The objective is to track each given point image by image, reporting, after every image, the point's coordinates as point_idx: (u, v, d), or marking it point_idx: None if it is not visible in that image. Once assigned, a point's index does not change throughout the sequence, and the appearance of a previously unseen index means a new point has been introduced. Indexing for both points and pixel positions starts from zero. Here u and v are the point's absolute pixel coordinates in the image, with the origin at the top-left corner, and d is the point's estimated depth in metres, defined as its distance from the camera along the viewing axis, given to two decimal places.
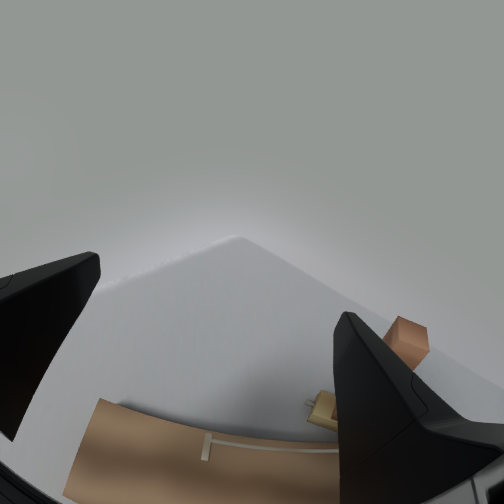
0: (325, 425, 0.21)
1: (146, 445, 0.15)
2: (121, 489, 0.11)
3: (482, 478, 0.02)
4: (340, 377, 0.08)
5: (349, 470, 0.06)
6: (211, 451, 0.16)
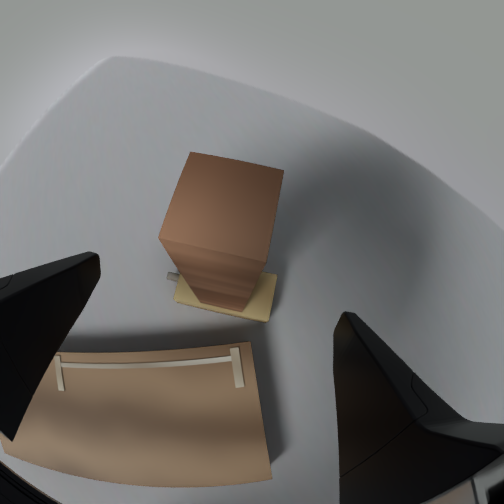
0: (201, 308, 0.18)
1: None
2: (24, 434, 0.11)
3: (482, 478, 0.02)
4: (340, 377, 0.08)
5: (349, 471, 0.06)
6: (65, 378, 0.14)
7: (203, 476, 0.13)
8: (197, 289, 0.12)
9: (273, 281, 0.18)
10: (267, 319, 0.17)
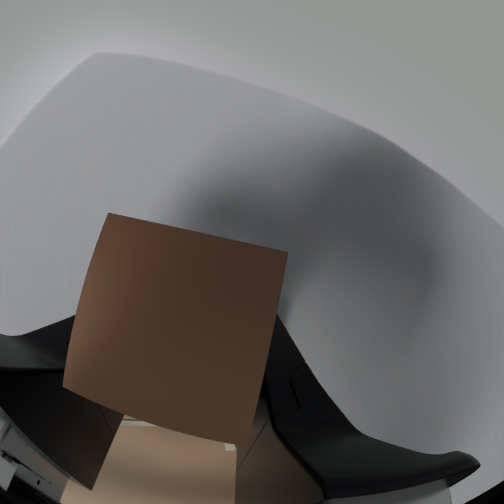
0: None
1: None
2: None
3: None
4: None
5: (239, 465, 0.06)
6: None
7: None
8: None
9: None
10: None
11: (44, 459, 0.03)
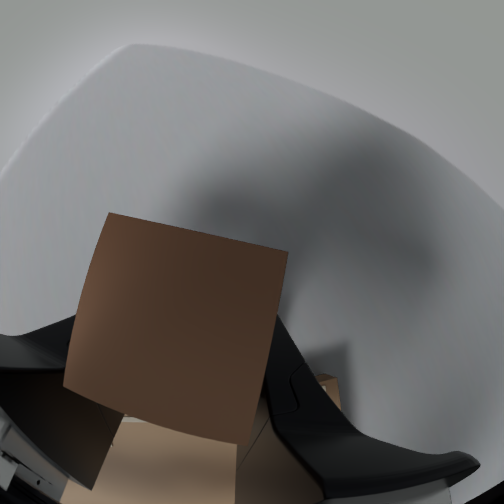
0: None
1: None
2: None
3: None
4: None
5: (239, 466, 0.06)
6: None
7: None
8: None
9: None
10: None
11: (44, 459, 0.03)
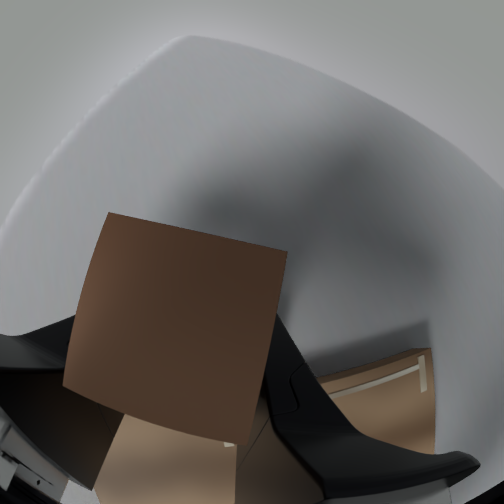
0: None
1: (151, 448, 0.11)
2: None
3: None
4: None
5: (239, 465, 0.06)
6: None
7: None
8: None
9: None
10: None
11: (44, 459, 0.03)
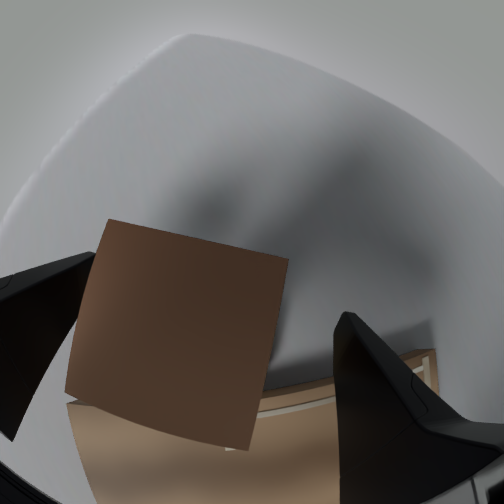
0: None
1: (150, 451, 0.11)
2: None
3: (482, 478, 0.02)
4: (340, 377, 0.08)
5: (348, 471, 0.06)
6: None
7: None
8: None
9: None
10: None
11: None
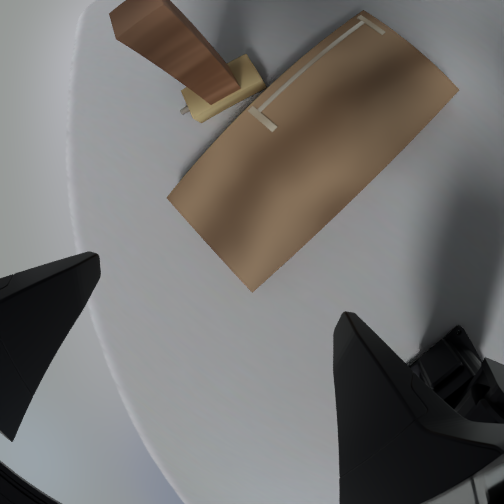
0: (217, 111, 0.20)
1: (231, 173, 0.19)
2: (265, 227, 0.19)
3: (482, 478, 0.02)
4: (340, 377, 0.08)
5: (348, 471, 0.06)
6: (270, 117, 0.17)
7: (422, 109, 0.14)
8: (184, 79, 0.14)
9: (246, 58, 0.17)
10: (261, 79, 0.17)
11: None
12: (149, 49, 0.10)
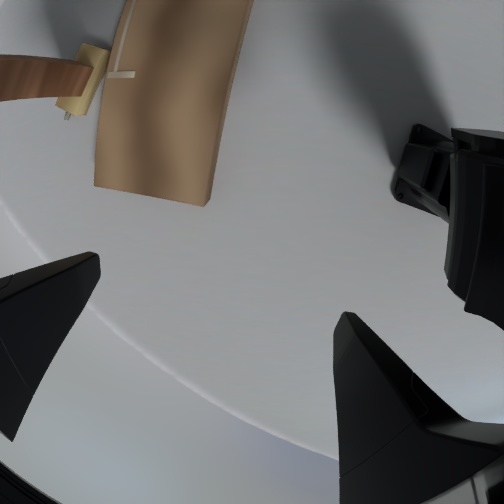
0: (90, 96, 0.18)
1: (125, 129, 0.17)
2: (175, 147, 0.18)
3: (482, 478, 0.02)
4: (340, 377, 0.08)
5: (349, 471, 0.06)
6: (126, 69, 0.15)
7: None
8: (43, 93, 0.12)
9: (85, 45, 0.14)
10: (104, 50, 0.15)
11: None
12: (0, 93, 0.08)
